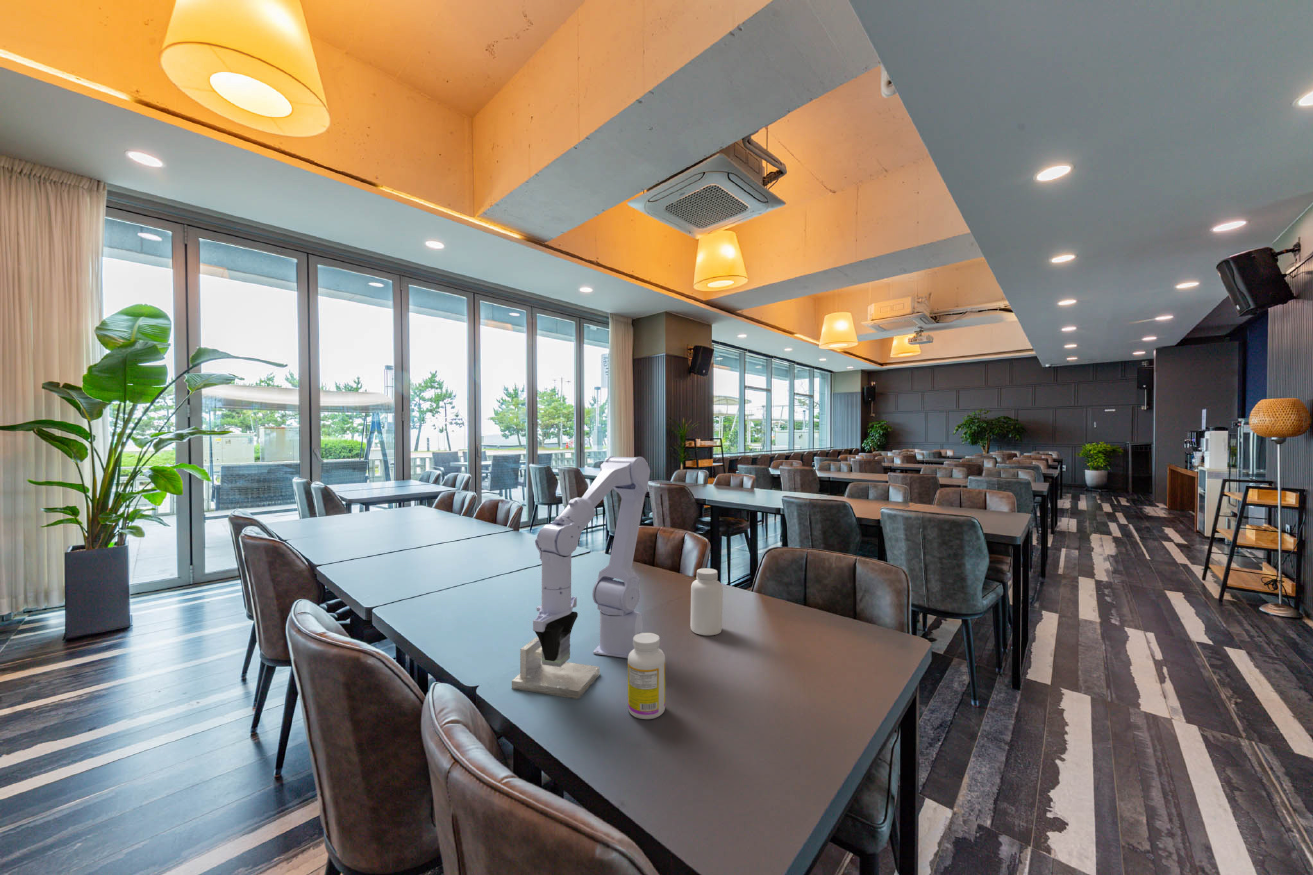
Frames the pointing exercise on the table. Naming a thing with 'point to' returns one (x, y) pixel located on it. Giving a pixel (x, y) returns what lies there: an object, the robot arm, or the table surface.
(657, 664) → the supplement bottle
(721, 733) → the table surface
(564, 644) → the grey stacked block
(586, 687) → the stand frame
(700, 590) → the pill bottle
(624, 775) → the table surface
